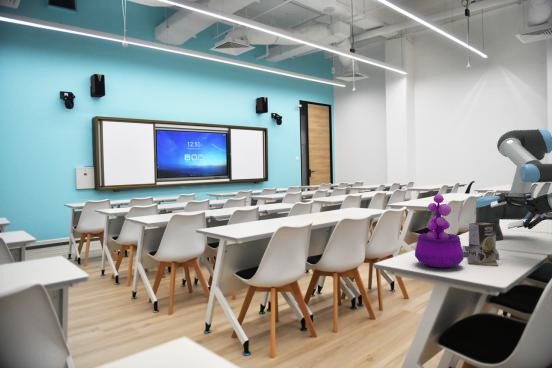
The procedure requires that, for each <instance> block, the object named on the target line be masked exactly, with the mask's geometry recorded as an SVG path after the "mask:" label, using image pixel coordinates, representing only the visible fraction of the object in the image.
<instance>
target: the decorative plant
mask: <svg viewBox="0 0 552 368" xmlns="http://www.w3.org/2000/svg"><path fill="white" fill-rule="evenodd" d="M444 200H445V199H444V196H443V194H440V193H436V194H435V195H434V196H433V201H434V202H430V203H429V204H428V205H427V208H428V210H429V211H430V212H435V216H433V217H432V218H431V220H430V221H428V222H427V224H426V227H427V229H428V230H429V231H428V232H426V233H425V232H424V233H420V234H418V236H417V241H416V246H415V250H414V257H415V259H417V261H418V262H419V263H422V264H424V265H426V266H429V267H432V268H433V267H434V268H451V267H454V266H458V265H460V264H461V263H462V262H463V260H464V258H465V257H463V250H462V243H461V237H460V236H459V235H457V234H452V233H447V232H445V230H448V229H449V228H450V225H451V224H450V222H449V221H448V220H447V219H446V218H445V217H446V216H448V215H450V214H451V212H452V209H451V206H450V205H448V204H447V203H443V202H444ZM441 203H443V204H441Z"/></svg>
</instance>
